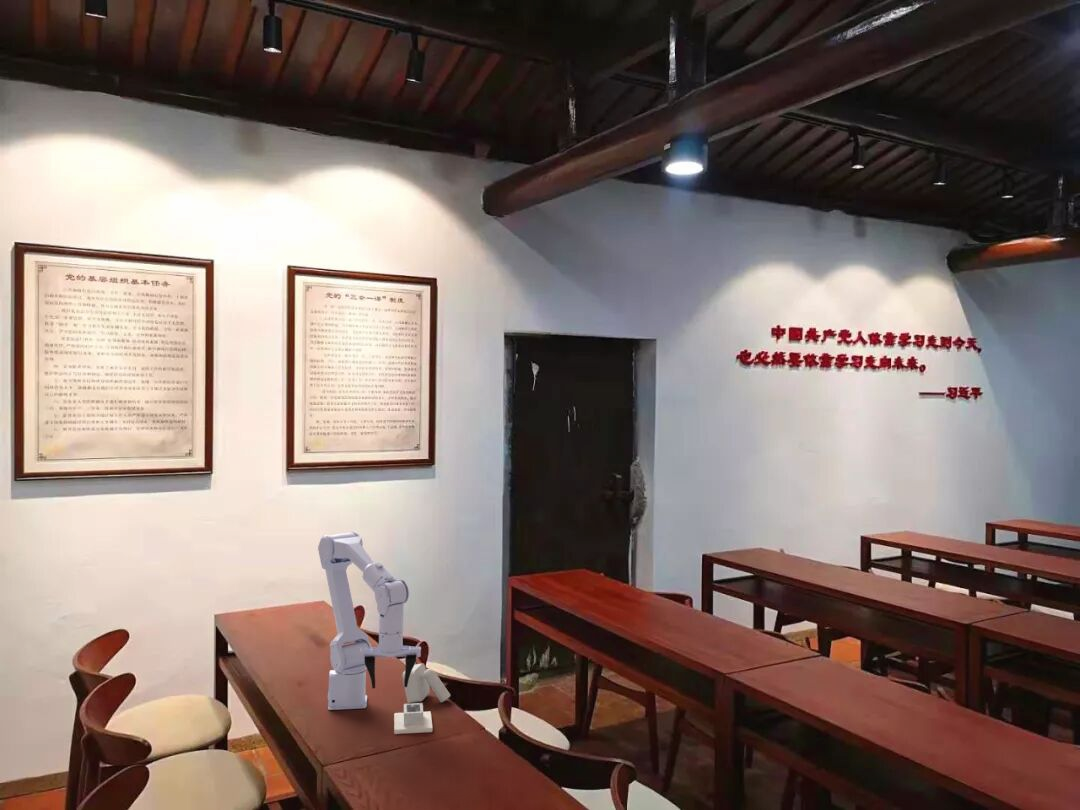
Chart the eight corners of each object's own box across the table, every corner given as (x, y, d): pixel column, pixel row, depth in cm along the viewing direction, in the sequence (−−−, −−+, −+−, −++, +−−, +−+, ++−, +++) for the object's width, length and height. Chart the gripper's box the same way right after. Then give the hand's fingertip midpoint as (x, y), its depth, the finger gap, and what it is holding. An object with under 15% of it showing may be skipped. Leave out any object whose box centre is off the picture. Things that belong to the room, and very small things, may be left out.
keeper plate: (394, 733, 192) (394, 715, 192) (394, 717, 202) (394, 699, 202) (432, 731, 194) (432, 713, 194) (430, 715, 204) (430, 697, 204)
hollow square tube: (423, 724, 195) (423, 712, 195) (403, 725, 194) (403, 713, 194) (422, 715, 201) (422, 703, 201) (403, 715, 200) (403, 703, 200)
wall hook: (446, 706, 208) (438, 667, 208) (409, 711, 210) (401, 673, 211) (455, 694, 216) (448, 657, 216) (420, 700, 218) (412, 663, 218)
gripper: (360, 636, 192) (358, 693, 192) (421, 634, 195) (420, 690, 195) (360, 628, 199) (359, 682, 199) (420, 626, 202) (419, 680, 202)
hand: (389, 686), depth 198 cm, fingers open, 7 cm apart
